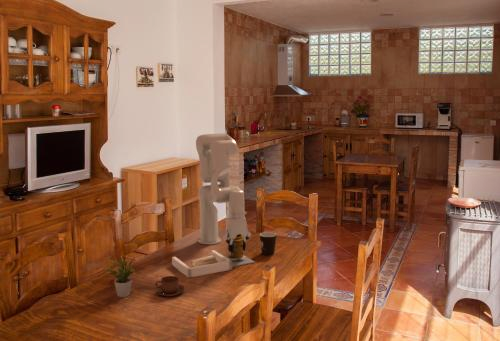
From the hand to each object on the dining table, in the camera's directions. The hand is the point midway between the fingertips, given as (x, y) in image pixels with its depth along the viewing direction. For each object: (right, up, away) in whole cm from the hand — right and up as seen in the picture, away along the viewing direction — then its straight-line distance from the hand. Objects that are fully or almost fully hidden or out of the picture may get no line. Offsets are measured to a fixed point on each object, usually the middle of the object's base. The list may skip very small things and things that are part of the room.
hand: (237, 250), depth 265 cm
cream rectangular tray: (-17, -7, -8) cm, 20 cm away
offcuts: (-15, -7, -11) cm, 20 cm away
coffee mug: (+16, -3, +14) cm, 21 cm away
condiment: (-1, -3, 0) cm, 3 cm away
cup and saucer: (-27, -12, -40) cm, 49 cm away
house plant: (-46, -12, -40) cm, 62 cm away
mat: (0, -5, +1) cm, 5 cm away
